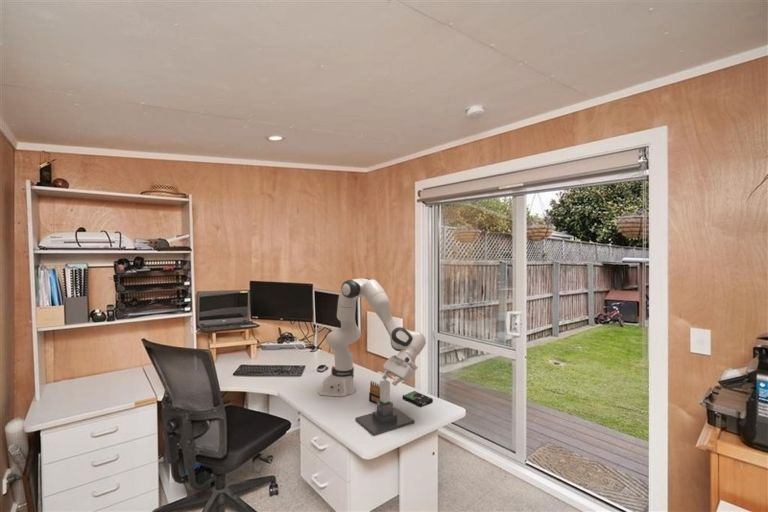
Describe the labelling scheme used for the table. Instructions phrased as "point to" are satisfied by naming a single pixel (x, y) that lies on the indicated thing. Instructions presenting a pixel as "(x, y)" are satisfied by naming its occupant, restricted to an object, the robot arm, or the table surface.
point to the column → (384, 392)
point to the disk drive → (417, 399)
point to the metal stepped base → (384, 419)
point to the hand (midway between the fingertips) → (388, 381)
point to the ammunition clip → (374, 392)
